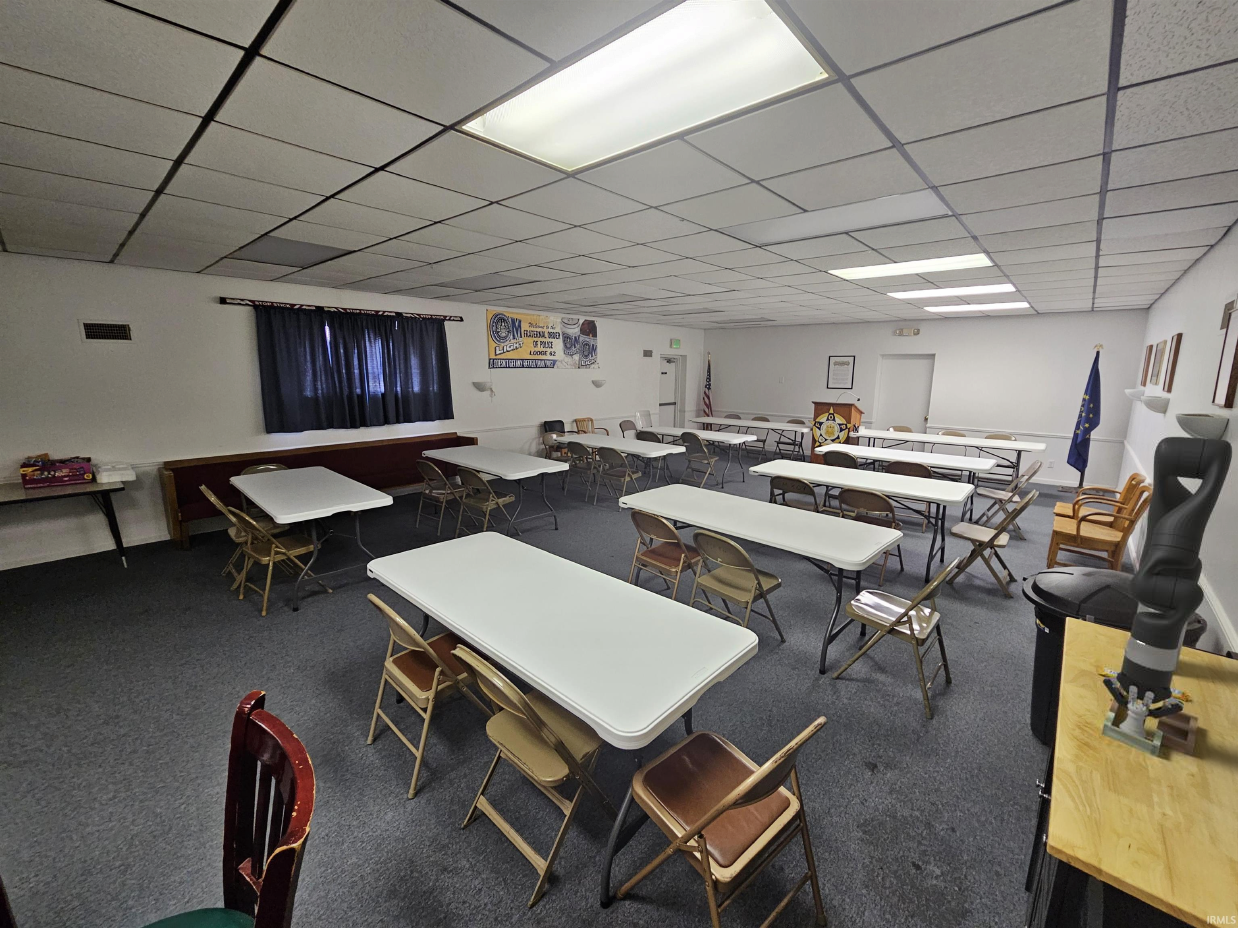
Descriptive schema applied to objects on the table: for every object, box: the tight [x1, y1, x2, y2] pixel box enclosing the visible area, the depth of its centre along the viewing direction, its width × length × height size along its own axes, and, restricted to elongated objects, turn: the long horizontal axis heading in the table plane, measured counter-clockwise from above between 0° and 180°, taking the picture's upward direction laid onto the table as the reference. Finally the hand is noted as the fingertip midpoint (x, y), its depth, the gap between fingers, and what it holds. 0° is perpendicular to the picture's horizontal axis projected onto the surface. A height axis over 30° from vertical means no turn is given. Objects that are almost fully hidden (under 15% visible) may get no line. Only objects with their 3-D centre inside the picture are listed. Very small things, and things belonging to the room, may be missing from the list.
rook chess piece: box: [1118, 702, 1149, 740], centre depth 107 cm, size 4×4×8 cm
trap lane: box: [1101, 684, 1199, 758], centre depth 110 cm, size 23×13×2 cm, turn 128°
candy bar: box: [1095, 664, 1191, 702], centre depth 125 cm, size 17×4×2 cm, turn 45°
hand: (1134, 726), depth 109 cm, fingers closed
